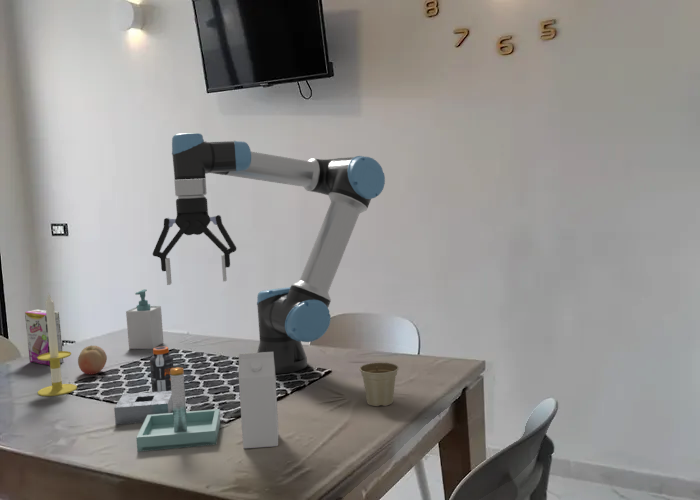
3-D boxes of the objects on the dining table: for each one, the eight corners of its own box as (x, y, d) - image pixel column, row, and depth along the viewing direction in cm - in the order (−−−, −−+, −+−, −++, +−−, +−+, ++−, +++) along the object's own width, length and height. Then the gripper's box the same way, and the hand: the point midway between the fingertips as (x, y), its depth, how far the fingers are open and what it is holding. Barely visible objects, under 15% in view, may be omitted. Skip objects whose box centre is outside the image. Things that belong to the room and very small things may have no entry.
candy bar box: (28, 362, 223) (23, 311, 221) (42, 358, 227) (38, 308, 225) (50, 366, 217) (45, 314, 215) (64, 362, 221) (59, 311, 219)
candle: (85, 386, 193) (76, 290, 190) (56, 397, 184) (47, 296, 181) (58, 383, 197) (50, 288, 194) (29, 394, 188) (19, 295, 185)
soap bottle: (128, 349, 235) (123, 292, 233) (140, 342, 243) (136, 288, 241) (152, 349, 233) (148, 292, 231) (163, 342, 242) (159, 288, 240)
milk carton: (245, 436, 150) (239, 349, 148) (278, 434, 151) (273, 347, 149) (243, 449, 143) (237, 358, 141) (278, 446, 144) (272, 356, 142)
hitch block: (174, 406, 173) (173, 390, 172) (168, 420, 163) (167, 403, 162) (124, 410, 171) (122, 394, 171) (115, 424, 161) (114, 407, 161)
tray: (220, 421, 160) (219, 409, 160) (216, 444, 146) (215, 430, 146) (148, 427, 158) (147, 414, 158) (137, 451, 145) (136, 437, 144)
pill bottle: (168, 392, 184) (165, 350, 183) (147, 392, 185) (144, 350, 184) (178, 386, 190) (175, 345, 189) (158, 385, 191) (155, 344, 190)
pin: (188, 429, 154) (184, 367, 152) (186, 434, 151) (182, 370, 150) (175, 430, 154) (170, 368, 152) (173, 435, 151) (169, 371, 149)
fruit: (72, 376, 204) (70, 349, 204) (92, 368, 212) (90, 342, 211) (94, 378, 201) (92, 350, 201) (113, 370, 209) (111, 344, 208)
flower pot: (404, 397, 172) (403, 363, 171) (394, 410, 163) (392, 374, 162) (367, 395, 175) (366, 361, 174) (355, 407, 166) (354, 372, 165)
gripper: (242, 194, 178) (247, 277, 180) (141, 199, 175) (148, 283, 177) (242, 195, 171) (247, 281, 173) (136, 200, 168) (143, 287, 170)
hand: (197, 282), depth 175 cm, fingers open, 13 cm apart
